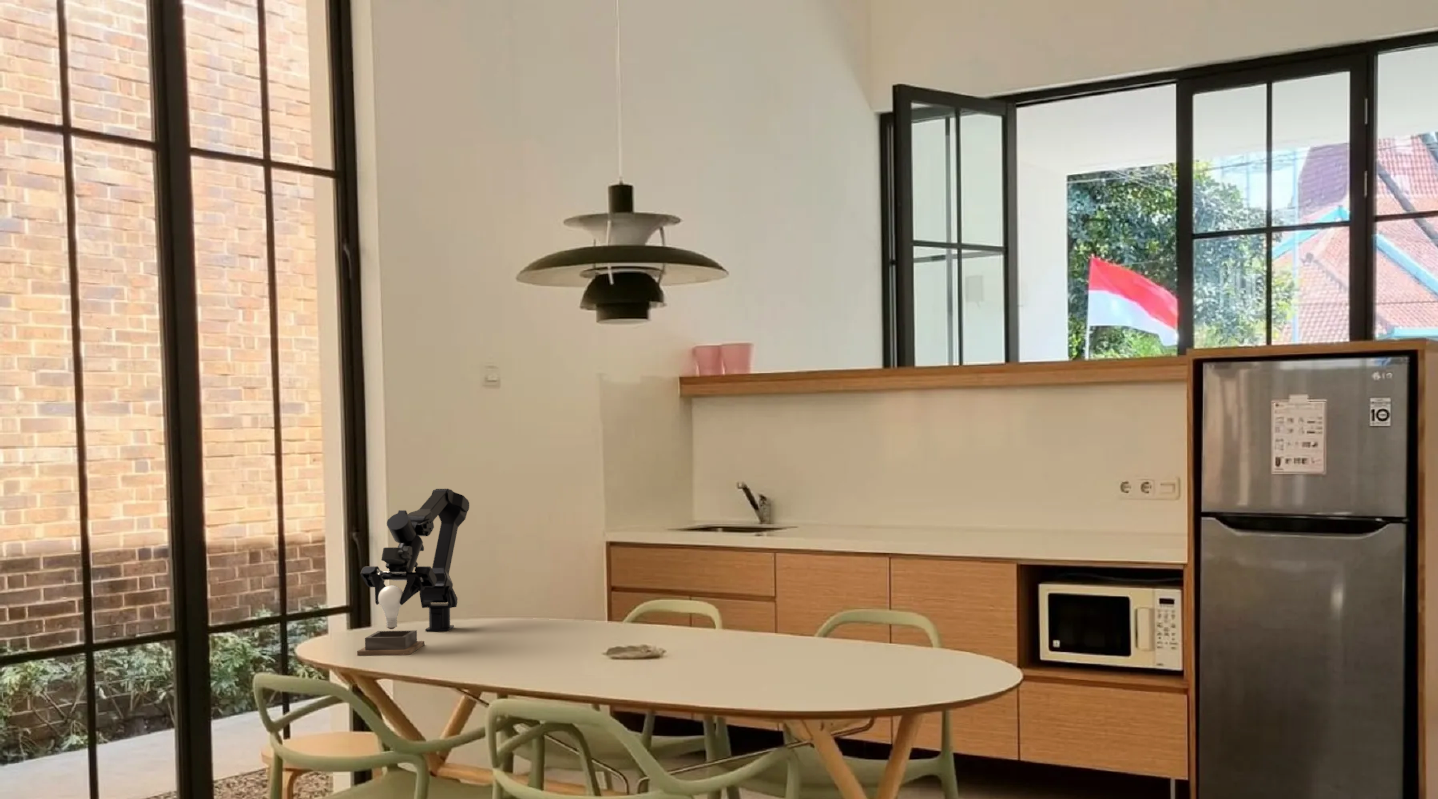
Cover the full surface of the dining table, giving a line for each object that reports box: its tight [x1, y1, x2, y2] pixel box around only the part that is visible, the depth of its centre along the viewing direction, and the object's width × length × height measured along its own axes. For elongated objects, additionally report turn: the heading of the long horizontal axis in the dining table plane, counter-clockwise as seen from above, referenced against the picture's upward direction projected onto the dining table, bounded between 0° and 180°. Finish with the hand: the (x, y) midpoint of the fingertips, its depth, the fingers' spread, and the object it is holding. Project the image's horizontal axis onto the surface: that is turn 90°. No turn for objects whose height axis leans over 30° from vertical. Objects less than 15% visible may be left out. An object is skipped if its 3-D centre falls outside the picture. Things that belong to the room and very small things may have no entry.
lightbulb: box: [378, 584, 404, 630], centre depth 301 cm, size 6×6×11 cm
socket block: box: [356, 630, 425, 656], centre depth 300 cm, size 13×13×4 cm
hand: (388, 603), depth 299 cm, fingers closed on lightbulb, 6 cm apart
